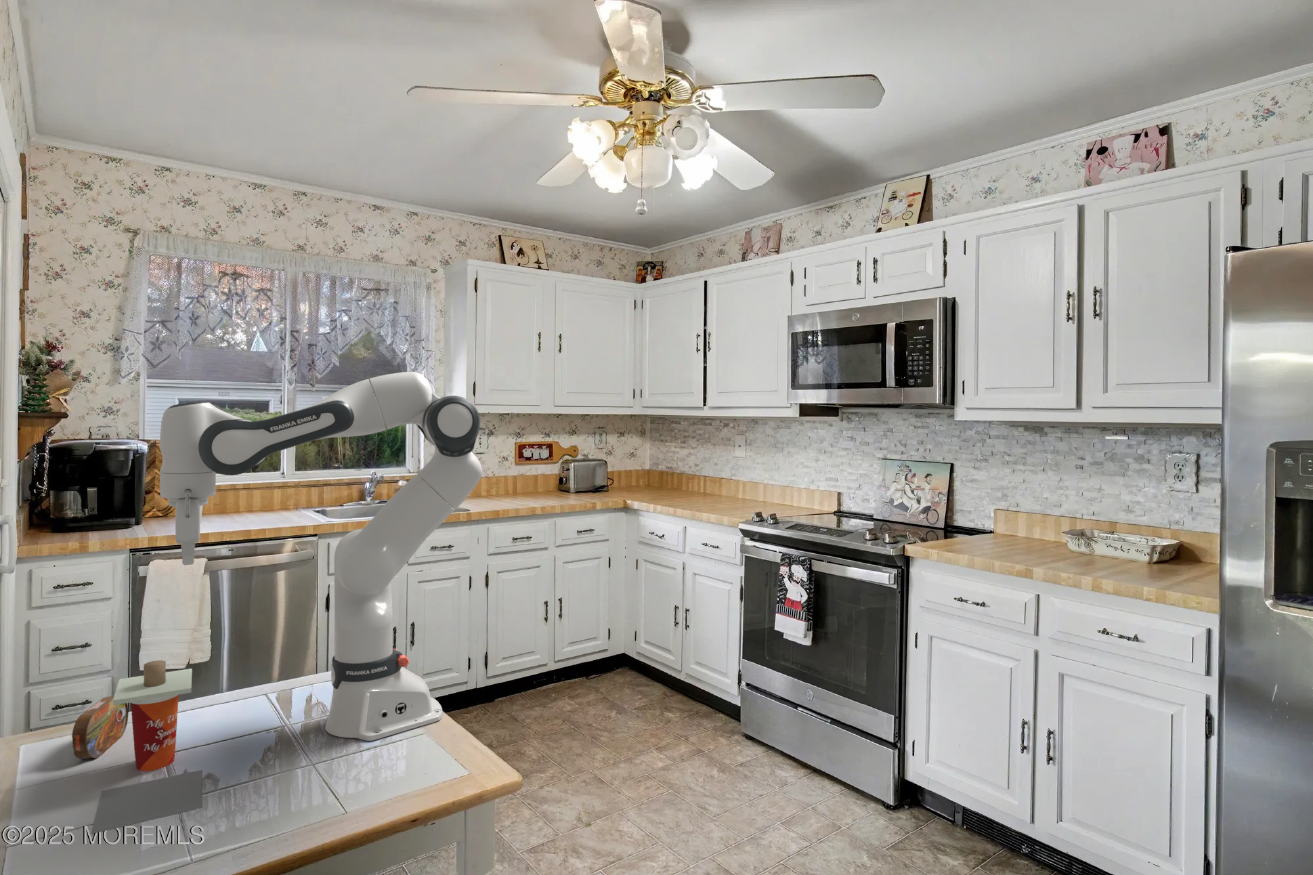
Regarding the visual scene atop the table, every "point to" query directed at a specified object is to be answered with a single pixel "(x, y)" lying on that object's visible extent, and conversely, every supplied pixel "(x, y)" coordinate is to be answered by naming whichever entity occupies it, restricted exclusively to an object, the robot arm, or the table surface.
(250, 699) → the table surface
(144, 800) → the mat
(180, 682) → the lid
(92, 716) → the tin
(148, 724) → the paper cup
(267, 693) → the table surface
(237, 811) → the table surface
